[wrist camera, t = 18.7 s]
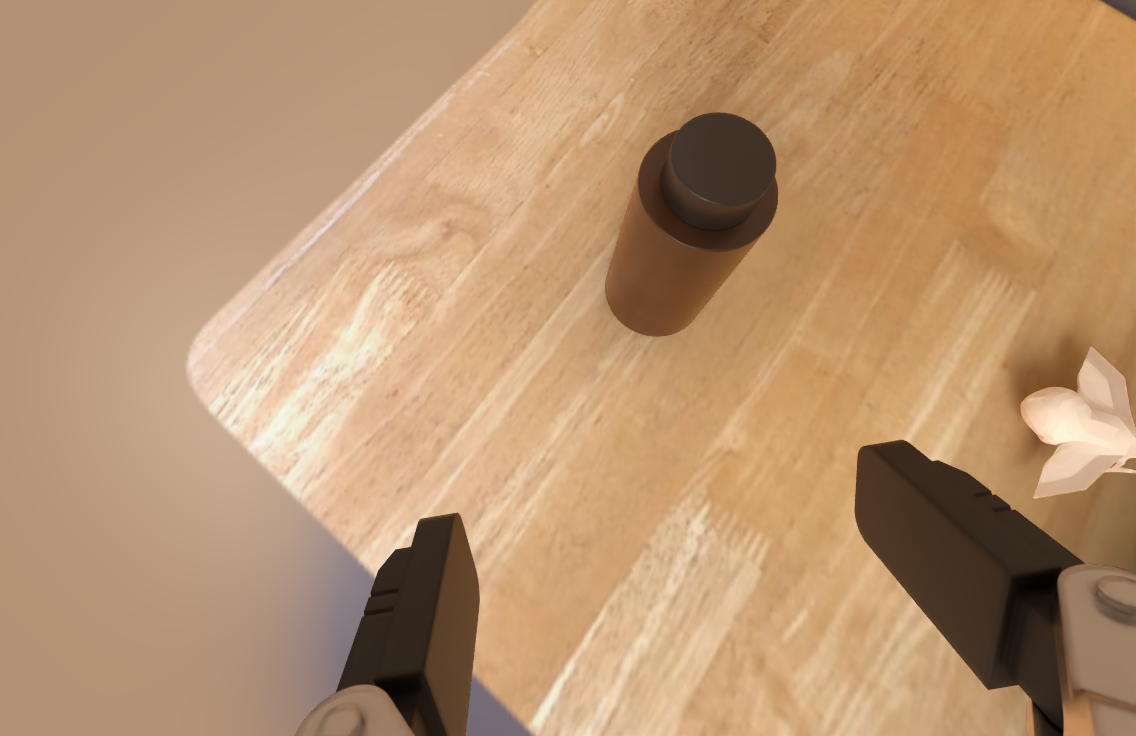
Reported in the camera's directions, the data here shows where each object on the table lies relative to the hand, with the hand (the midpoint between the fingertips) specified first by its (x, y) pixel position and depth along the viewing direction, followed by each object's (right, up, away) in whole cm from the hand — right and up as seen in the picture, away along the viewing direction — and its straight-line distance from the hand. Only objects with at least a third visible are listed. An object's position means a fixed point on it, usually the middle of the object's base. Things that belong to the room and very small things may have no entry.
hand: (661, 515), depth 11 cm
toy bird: (+20, 0, +15) cm, 25 cm away
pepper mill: (+2, +7, +15) cm, 17 cm away
